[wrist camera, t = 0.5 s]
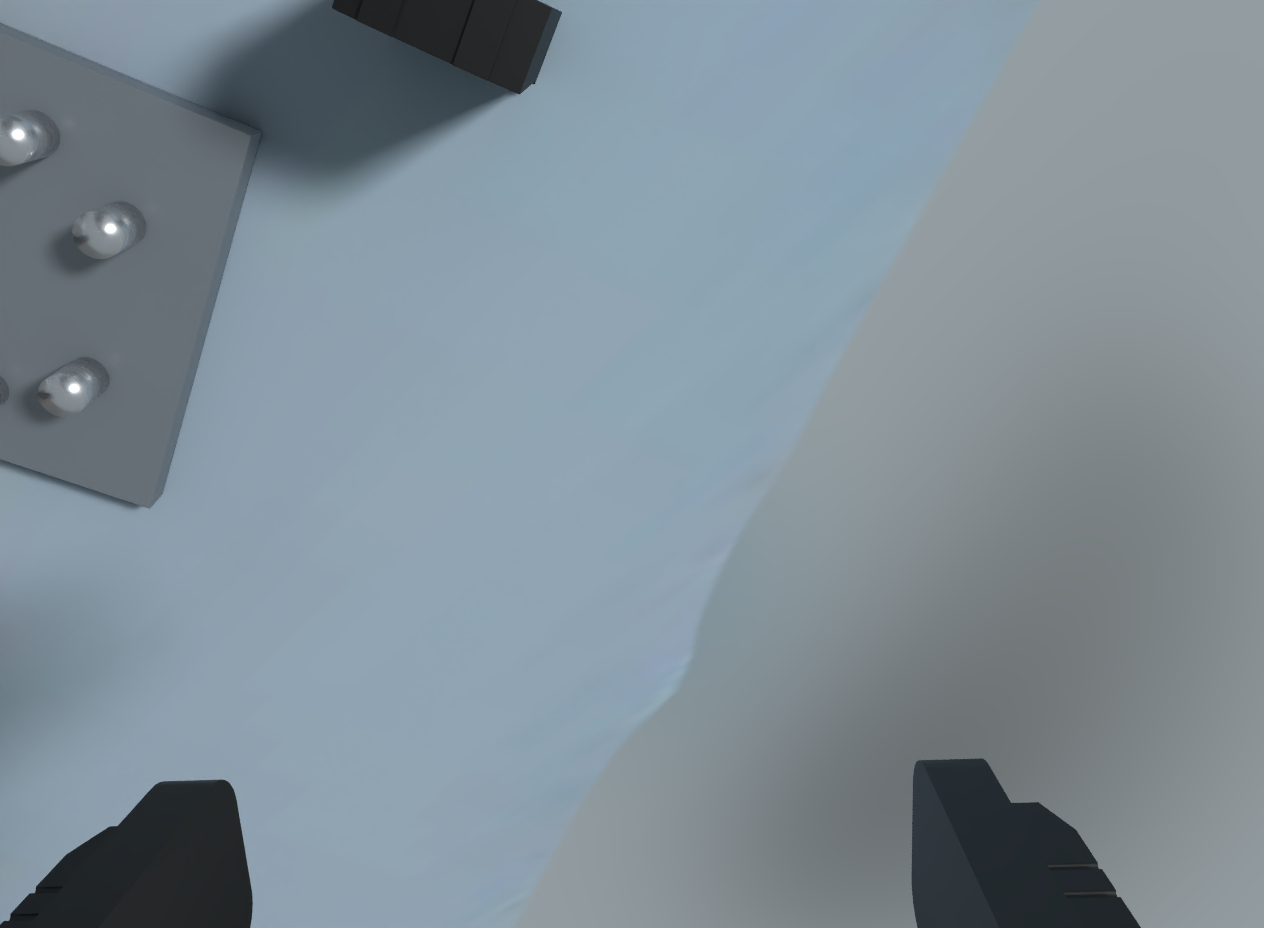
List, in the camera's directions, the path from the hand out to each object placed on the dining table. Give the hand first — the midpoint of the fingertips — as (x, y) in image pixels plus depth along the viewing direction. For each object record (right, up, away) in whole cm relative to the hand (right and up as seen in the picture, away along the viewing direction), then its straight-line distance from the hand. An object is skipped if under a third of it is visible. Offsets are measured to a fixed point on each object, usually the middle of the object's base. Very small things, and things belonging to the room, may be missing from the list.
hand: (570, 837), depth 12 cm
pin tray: (-19, +11, +22) cm, 31 cm away
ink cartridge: (-4, +19, +20) cm, 27 cm away
